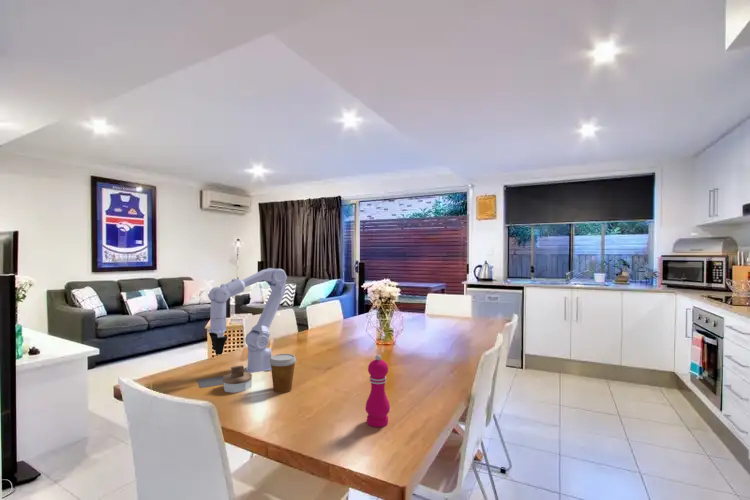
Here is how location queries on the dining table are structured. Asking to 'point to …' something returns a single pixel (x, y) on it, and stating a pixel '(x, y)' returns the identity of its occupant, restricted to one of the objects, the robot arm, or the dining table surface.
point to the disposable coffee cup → (282, 372)
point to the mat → (210, 382)
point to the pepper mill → (377, 394)
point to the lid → (237, 376)
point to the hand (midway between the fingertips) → (217, 352)
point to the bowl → (237, 387)
